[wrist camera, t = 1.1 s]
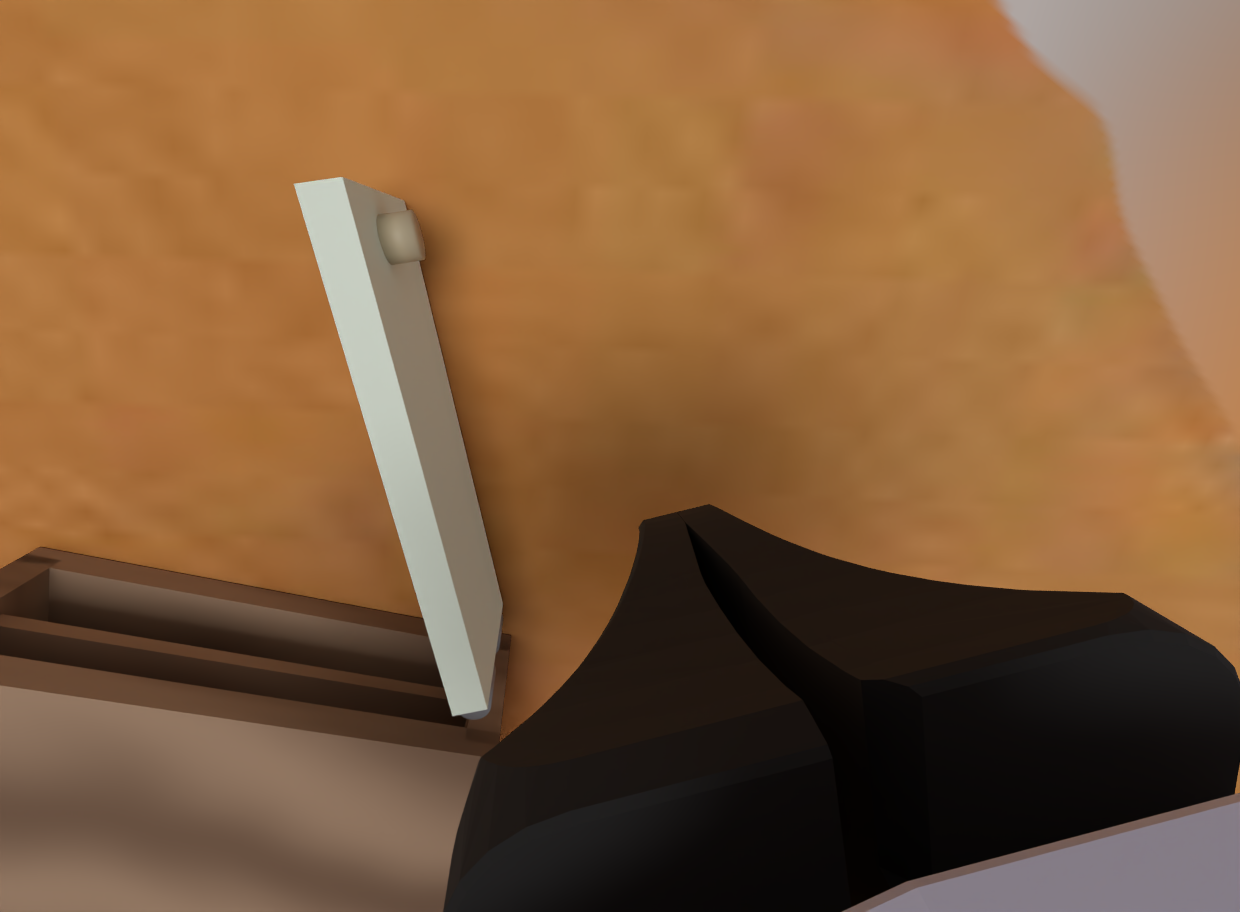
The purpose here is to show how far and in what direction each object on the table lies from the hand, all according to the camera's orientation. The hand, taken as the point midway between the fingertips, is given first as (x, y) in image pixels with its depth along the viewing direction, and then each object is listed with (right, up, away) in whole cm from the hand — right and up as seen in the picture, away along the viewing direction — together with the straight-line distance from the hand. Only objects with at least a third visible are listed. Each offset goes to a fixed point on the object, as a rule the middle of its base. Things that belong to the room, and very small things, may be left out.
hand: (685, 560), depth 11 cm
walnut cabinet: (-14, -8, +12) cm, 20 cm away
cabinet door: (-7, +3, +9) cm, 12 cm away
